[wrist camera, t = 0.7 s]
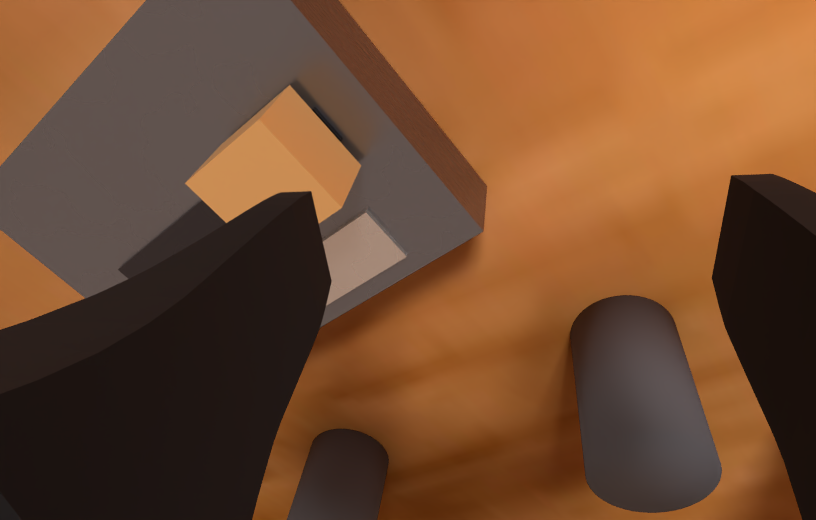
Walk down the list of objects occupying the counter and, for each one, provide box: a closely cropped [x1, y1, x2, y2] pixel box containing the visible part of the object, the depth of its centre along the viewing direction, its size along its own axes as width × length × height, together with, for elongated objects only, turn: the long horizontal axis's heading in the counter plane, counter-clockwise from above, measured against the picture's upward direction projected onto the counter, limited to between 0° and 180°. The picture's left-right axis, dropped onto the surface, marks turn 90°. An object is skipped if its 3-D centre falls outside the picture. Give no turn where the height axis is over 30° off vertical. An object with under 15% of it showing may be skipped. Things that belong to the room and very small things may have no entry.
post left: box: [287, 429, 389, 520], centre depth 29 cm, size 4×4×6 cm
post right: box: [570, 295, 722, 513], centre depth 22 cm, size 4×4×6 cm
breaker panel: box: [0, 0, 487, 327], centre depth 21 cm, size 11×14×3 cm
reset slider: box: [185, 85, 361, 223], centre depth 17 cm, size 3×3×3 cm
